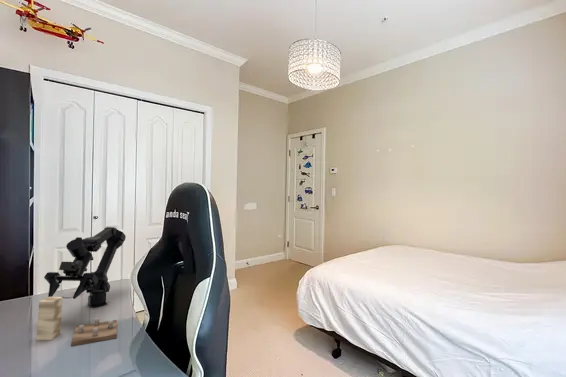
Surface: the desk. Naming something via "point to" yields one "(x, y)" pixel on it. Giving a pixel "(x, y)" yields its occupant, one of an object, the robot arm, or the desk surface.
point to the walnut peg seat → (94, 332)
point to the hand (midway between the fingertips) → (61, 298)
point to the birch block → (49, 318)
